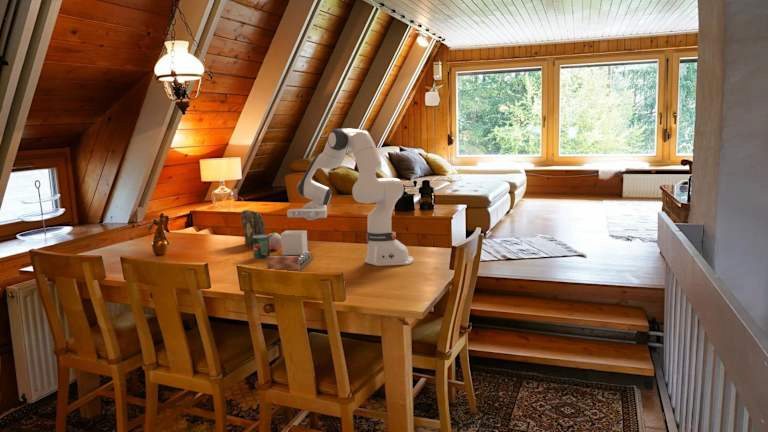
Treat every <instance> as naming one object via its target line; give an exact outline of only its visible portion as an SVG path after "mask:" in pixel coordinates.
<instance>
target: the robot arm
mask: <svg viewBox="0 0 768 432" xmlns="http://www.w3.org/2000/svg"><path fill="white" fill-rule="evenodd" d="M347 152H352V153H353V157H354V160H355V162H356V166H357V170H358V177H357V180H356V181H355V183H354V185H353V186H352V188H351V189H352V192H351V193H352V197H353V199H354V200H355V201H356V202H357V203H362V204H372V203H376V204H375V206H374V208H373V209H372V210H371V211H370V212H369V213H368V215H367V216H366V217H367V218H366V219H367V222H366V223H367V232H366V244H367V251H366V256H365V257H366V258H365V260H364V262H365V264H368V265H369V264H370V265H373V266H376V267H379V266H380V267H382V266H402V265H403V266H404V265H405V266H407V265H411V264H412V263H413V262H414V257H413V256H411V255H410V254H409V250H408V248H407V246H406V245H405V244H403V243H402V242H401V241H399V240H398V239H396V238H397V234H396V231H393V230H392V215H393V210H394V208H395V205H396V203H397V202H398V200H399V199H401V198H402V196H403V194H404V190H405V189H404V187H405V186H404V184H403V182H402V181H401V179H399V178H396V177H379V178H378V177H377V175H376V173H377V172H378V171H379V170H380V169H381V167H382V161H381V158H380V155H379V152H378V149H377V146H376V144H375V142H374V140H373V138H372V136H371V134H370V132H369V131H368V130H365V129H361V128H359V129H358V128H350V127H349V128H347V127H346V128H334V129H331V130H330V131H329V133H328V136H327V141H326V143H325V146H324V149H323V151H322V152H321V153H320V154H316V155H315V156H314V157H313V159H312V160H311V162H310V163H309V165H308V167H307V169H306V170H305V172H304V174H303V177H302V178H301V179H300V180H299V182H298V184H297V186H296V190H297V193H298V195H299V196H301V197H303V198H307V199H309V200H311V201H309V202H307V203H306V204H304V205H303V206H302V208H291V209H288V210H286V215H287V216H286V217H287V218H304V219H305V220H308V221H313V220H317V219H325V218H327V217H328V208H327V207H328V206H329V204H330V202H331V200H332V197H333V194H332V193H333V192H332V190H331V188H330V187H328V186H325V185H324V184H321V183H319V182H317V181H315V180H313V179H312V178H313V176H314V175H315V173H316V171H317V169H329V170H332V169H338V167H340V166H341V165H343V162H344V159H345V157H346V155H347Z"/></svg>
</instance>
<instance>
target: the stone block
mask: <svg viewBox="0 0 768 432" xmlns="http://www.w3.org/2000/svg"><path fill="white" fill-rule="evenodd" d="M240 216H241V218H240V219H241V223H242V228H243V232H244V233H243V234H244V244H245V245H246V246H247V247H249V248H252V249H253V236H255V235H265V230H266V229H265V228H266V225H265V223H264V219H263V216H262V215H261V213H258V212H257V211H255V210H250V209H249V210H248V209H245V210H242V212H241V215H240Z"/></svg>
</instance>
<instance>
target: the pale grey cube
mask: <svg viewBox="0 0 768 432" xmlns="http://www.w3.org/2000/svg"><path fill="white" fill-rule="evenodd" d="M280 236H281V245H280V246H281V256H282V255H303V254H305V253H306V252H309V251H308V231H307V230H299V229H298V230H297V229H296V230H284V231H283V232H282V233H280Z"/></svg>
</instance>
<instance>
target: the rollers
mask: <svg viewBox="0 0 768 432" xmlns="http://www.w3.org/2000/svg"><path fill="white" fill-rule="evenodd" d="M281 256H299V261H300V265H302V264H303V262H305V260H308V258H310V257H312V255H311V251H307V252H306V253H305V254H303V255H282V254H281Z"/></svg>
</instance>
